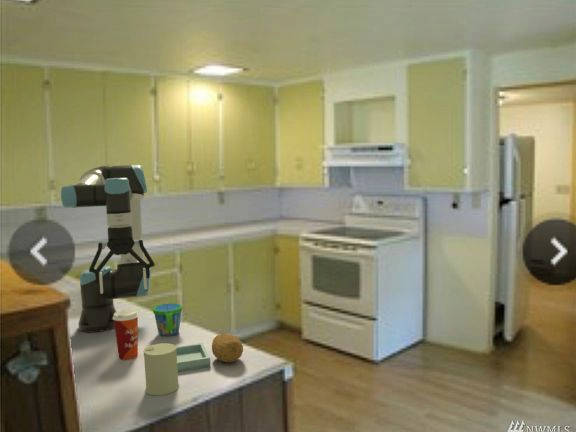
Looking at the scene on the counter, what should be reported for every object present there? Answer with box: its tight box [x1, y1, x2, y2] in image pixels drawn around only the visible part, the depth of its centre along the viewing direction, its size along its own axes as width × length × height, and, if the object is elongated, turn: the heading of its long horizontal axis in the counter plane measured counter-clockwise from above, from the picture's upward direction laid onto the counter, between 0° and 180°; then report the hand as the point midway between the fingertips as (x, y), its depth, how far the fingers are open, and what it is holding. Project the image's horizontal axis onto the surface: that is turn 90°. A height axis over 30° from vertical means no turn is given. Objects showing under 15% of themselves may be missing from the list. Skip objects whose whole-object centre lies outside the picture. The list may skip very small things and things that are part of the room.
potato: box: [211, 332, 244, 363], centre depth 163 cm, size 10×14×8 cm
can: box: [143, 342, 180, 396], centre depth 144 cm, size 9×9×12 cm
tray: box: [176, 342, 211, 373], centre depth 163 cm, size 14×13×3 cm
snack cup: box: [152, 302, 183, 337], centre depth 190 cm, size 16×10×10 cm
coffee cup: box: [112, 309, 140, 361], centre depth 168 cm, size 8×8×15 cm
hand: (123, 290), depth 166 cm, fingers open, 13 cm apart
